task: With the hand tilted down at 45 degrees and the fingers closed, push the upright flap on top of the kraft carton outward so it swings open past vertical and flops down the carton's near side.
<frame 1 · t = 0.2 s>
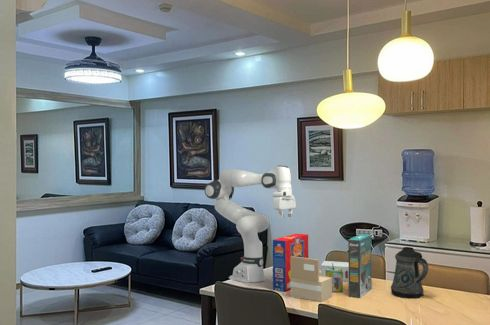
hand: (286, 217, 275), 39 cm above the table, tool pointing down, fingers open, 8 cm apart
beer stein: (409, 295, 254), on the table
flap: (304, 268, 246), point 16 cm above the table, hinge at 0.0°
pasta box: (291, 286, 274), on the table
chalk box: (334, 290, 265), on the table
carton: (311, 296, 252), on the table
cake mix box: (360, 293, 259), on the table
supplement box: (336, 279, 291), on the table
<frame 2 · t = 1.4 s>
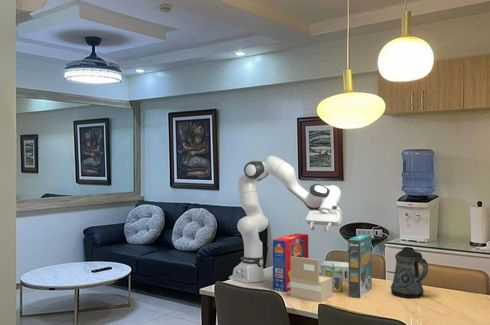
hand: (319, 229, 260), 34 cm above the table, tool tilted 45°, fingers open, 7 cm apart
nothing on the table moved.
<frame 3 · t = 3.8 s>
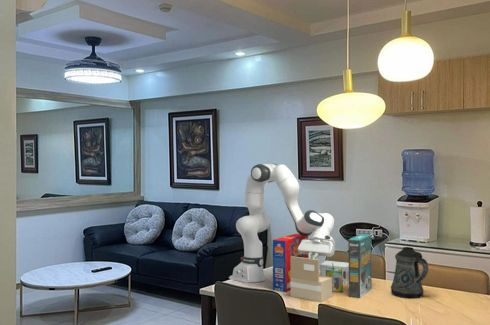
hand: (311, 260, 252), 19 cm above the table, tool tilted 45°, fingers closed
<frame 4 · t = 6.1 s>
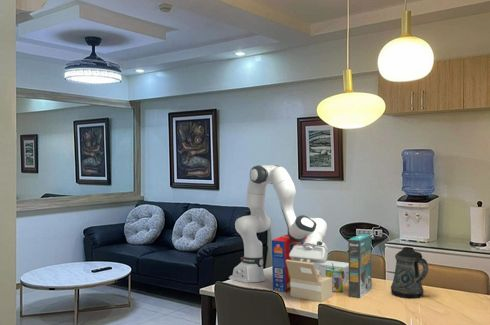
hand: (303, 267, 244), 17 cm above the table, tool tilted 45°, fingers closed
flap: (302, 270, 244), point 15 cm above the table, hinge at 26.1°, touching gripper
pasta box: (291, 284, 274), on the table, touching arm
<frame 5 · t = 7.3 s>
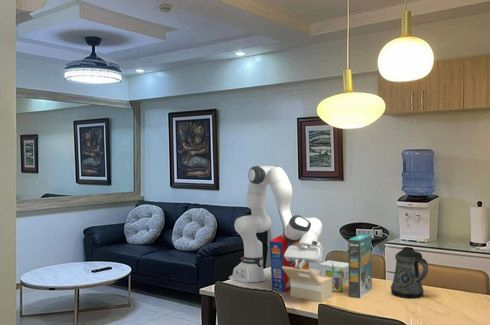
hand: (298, 267, 239), 18 cm above the table, tool tilted 45°, fingers closed
flap: (300, 274, 243), point 14 cm above the table, hinge at 50.0°
pasta box: (291, 282, 274), point 2 cm above the table, touching arm
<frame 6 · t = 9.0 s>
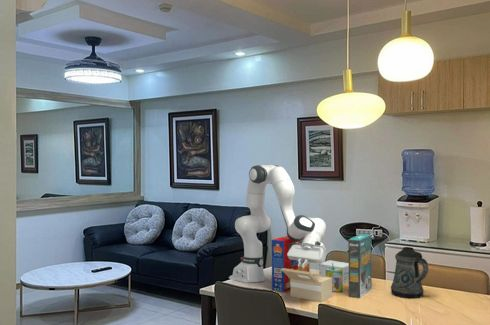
hand: (300, 267, 244), 17 cm above the table, tool tilted 45°, fingers closed
flap: (299, 275, 243), point 13 cm above the table, hinge at 55.8°
pasta box: (291, 286, 274), on the table
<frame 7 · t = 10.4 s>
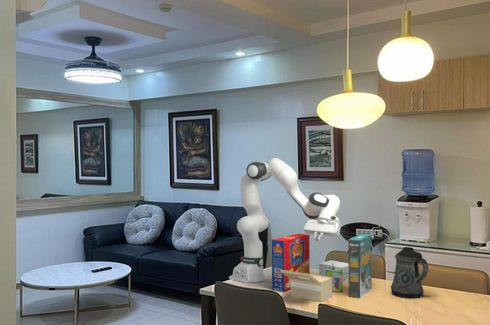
hand: (316, 240, 257), 29 cm above the table, tool tilted 45°, fingers closed
flap: (299, 276, 242), point 13 cm above the table, hinge at 60.7°
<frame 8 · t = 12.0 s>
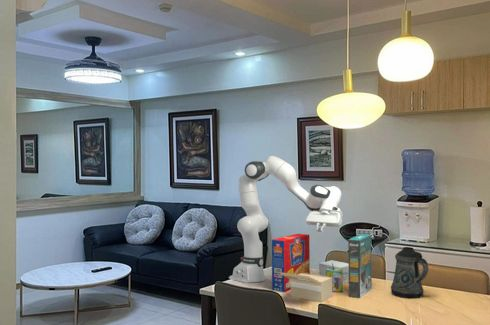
hand: (319, 230, 260), 33 cm above the table, tool tilted 45°, fingers closed
flap: (299, 277, 242), point 12 cm above the table, hinge at 67.2°
at the end: flap at +68° (first picture: +0°); flap touching nothing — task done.
